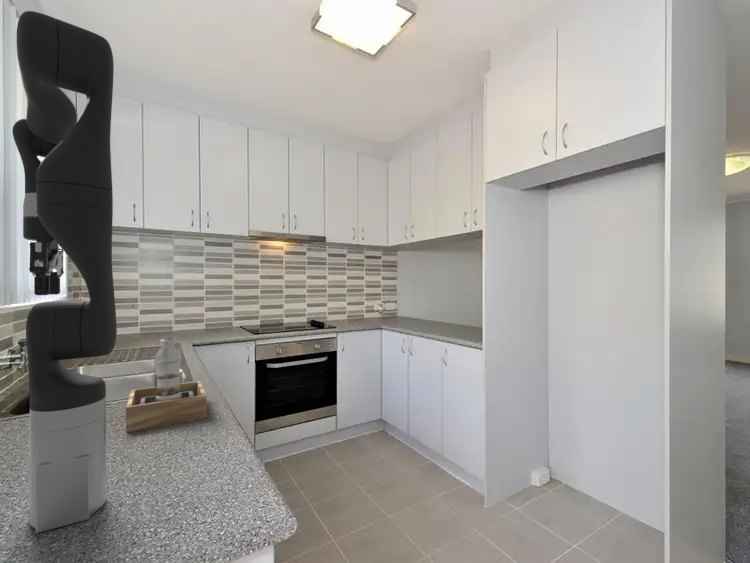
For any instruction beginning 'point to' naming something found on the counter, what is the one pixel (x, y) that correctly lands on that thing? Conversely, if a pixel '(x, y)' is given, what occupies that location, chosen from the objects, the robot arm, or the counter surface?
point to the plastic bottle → (168, 371)
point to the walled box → (165, 407)
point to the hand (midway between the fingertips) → (47, 294)
